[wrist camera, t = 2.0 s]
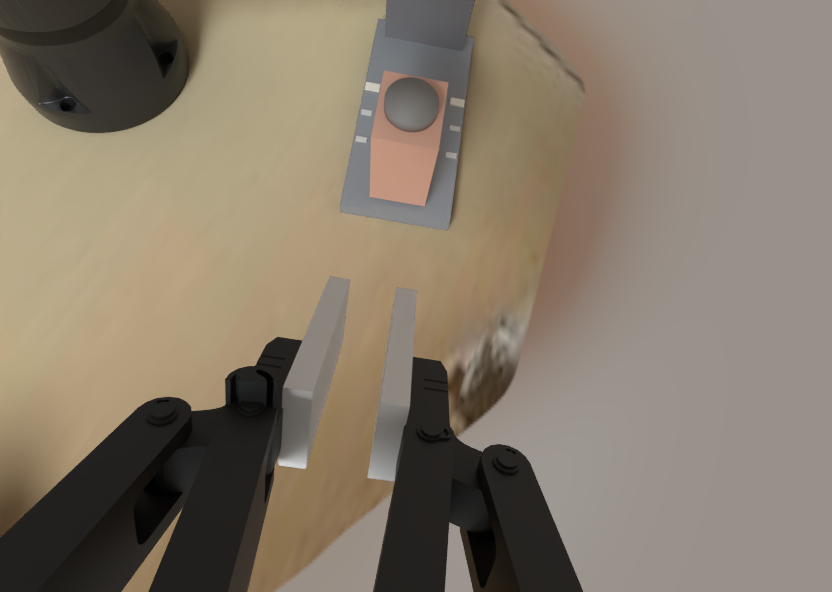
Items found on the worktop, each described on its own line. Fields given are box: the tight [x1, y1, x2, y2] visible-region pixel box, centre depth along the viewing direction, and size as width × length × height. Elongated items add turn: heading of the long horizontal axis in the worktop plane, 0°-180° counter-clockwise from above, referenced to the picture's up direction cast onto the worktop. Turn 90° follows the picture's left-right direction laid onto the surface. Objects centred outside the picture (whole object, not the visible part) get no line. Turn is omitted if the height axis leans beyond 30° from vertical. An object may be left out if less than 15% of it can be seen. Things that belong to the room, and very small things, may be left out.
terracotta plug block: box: [370, 71, 448, 206], centre depth 41 cm, size 6×5×10 cm
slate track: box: [340, 0, 475, 230], centre depth 46 cm, size 22×10×8 cm, turn 172°
